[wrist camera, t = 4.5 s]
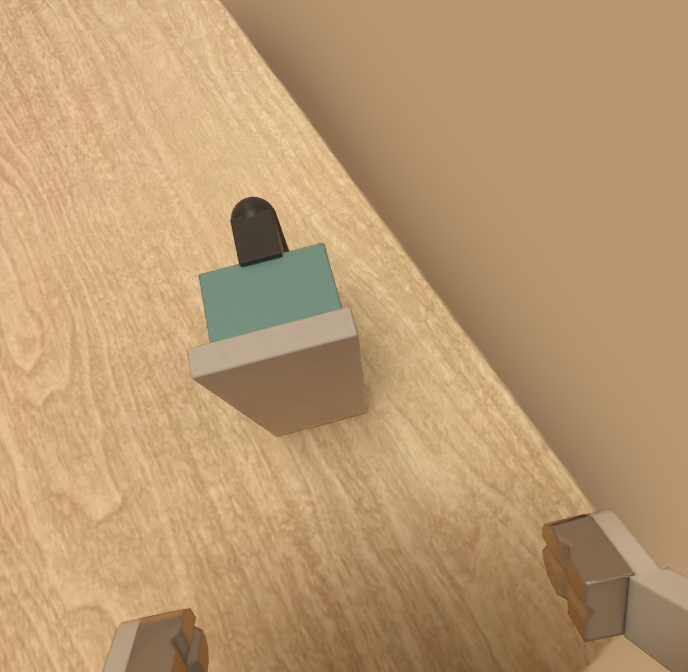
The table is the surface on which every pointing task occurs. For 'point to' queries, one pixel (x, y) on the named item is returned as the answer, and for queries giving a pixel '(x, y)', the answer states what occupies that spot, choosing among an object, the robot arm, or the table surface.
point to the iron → (278, 331)
